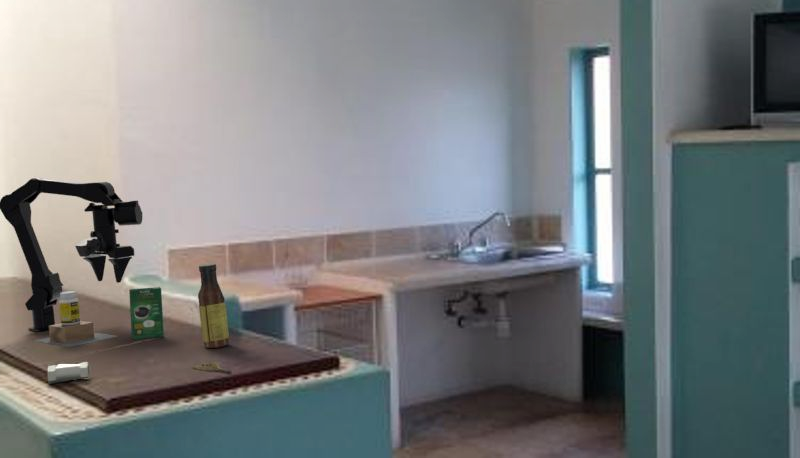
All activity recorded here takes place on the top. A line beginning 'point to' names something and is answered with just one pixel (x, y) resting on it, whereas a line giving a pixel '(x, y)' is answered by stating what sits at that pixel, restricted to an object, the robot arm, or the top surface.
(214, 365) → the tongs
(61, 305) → the supplement bottle
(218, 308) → the sauce bottle
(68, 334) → the base block
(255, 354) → the top surface
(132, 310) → the coffee box
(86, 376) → the pipe fitting
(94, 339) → the build mat
